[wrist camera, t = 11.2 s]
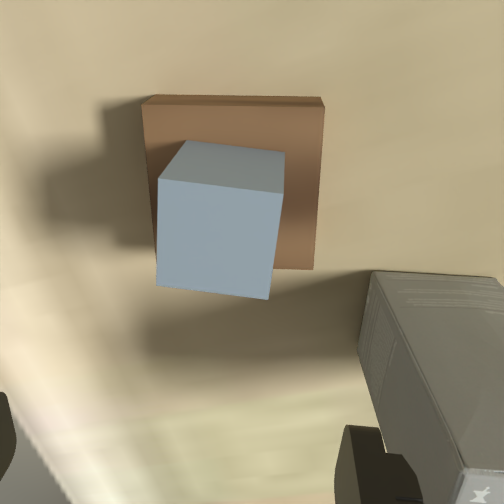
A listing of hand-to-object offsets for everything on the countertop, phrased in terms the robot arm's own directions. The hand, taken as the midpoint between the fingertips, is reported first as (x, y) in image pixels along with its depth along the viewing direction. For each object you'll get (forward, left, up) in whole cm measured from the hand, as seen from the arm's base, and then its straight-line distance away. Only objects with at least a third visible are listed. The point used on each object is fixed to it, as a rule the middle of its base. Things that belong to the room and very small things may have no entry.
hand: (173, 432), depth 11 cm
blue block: (0, 0, -16) cm, 16 cm away
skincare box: (+8, +13, -19) cm, 25 cm away
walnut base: (0, 0, -20) cm, 20 cm away
